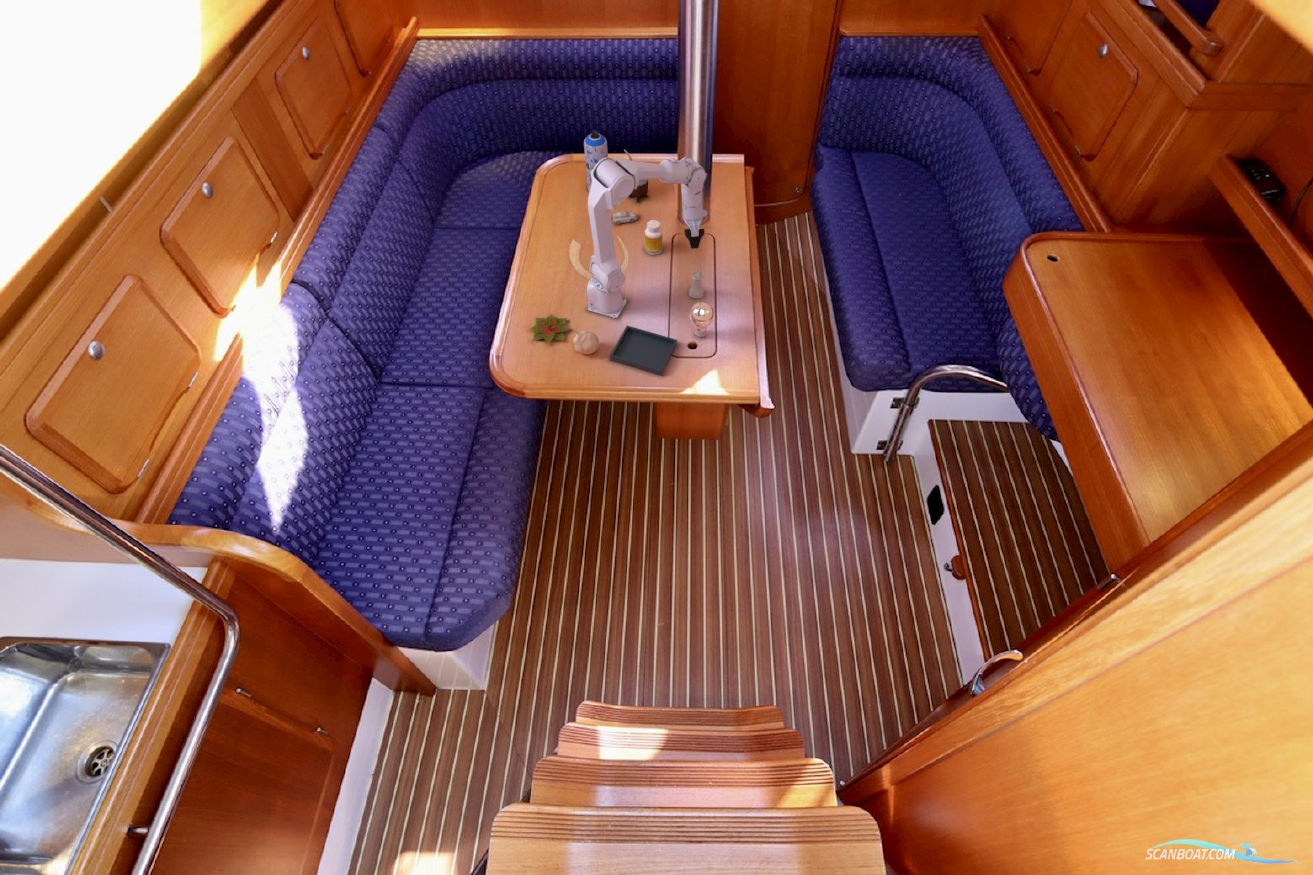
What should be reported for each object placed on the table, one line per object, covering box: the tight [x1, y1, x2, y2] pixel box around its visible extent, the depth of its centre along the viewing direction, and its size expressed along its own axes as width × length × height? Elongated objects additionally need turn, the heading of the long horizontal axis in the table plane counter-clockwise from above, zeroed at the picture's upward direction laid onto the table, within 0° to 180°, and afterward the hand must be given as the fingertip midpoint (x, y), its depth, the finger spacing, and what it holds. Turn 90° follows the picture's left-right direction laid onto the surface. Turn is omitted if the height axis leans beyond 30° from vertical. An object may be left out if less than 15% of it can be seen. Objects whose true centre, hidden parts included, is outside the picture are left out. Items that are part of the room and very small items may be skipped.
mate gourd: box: [623, 148, 649, 203], centre depth 213 cm, size 8×8×15 cm
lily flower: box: [530, 314, 571, 345], centre depth 183 cm, size 12×12×5 cm
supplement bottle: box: [644, 219, 663, 256], centre depth 200 cm, size 5×5×10 cm
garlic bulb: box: [572, 330, 600, 355], centre depth 177 cm, size 7×6×8 cm
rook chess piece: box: [688, 270, 704, 300], centre depth 190 cm, size 4×4×8 cm
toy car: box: [612, 210, 638, 226], centre depth 211 cm, size 4×8×3 cm, turn 103°
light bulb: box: [688, 300, 715, 338], centre depth 179 cm, size 7×7×12 cm
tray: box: [609, 325, 678, 377], centre depth 179 cm, size 15×12×2 cm
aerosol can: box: [583, 129, 609, 192], centre depth 213 cm, size 8×8×20 cm
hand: (693, 238), depth 191 cm, fingers open, 7 cm apart
